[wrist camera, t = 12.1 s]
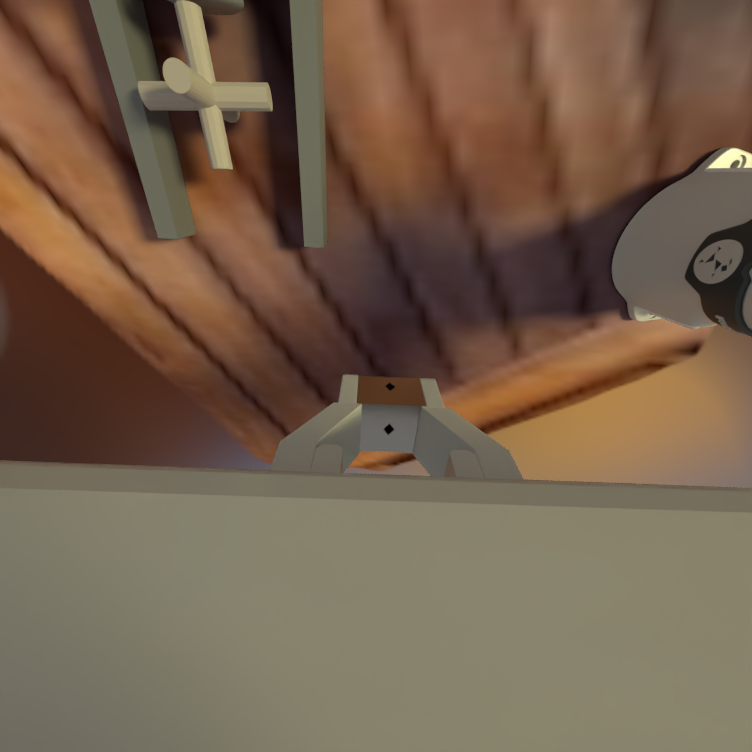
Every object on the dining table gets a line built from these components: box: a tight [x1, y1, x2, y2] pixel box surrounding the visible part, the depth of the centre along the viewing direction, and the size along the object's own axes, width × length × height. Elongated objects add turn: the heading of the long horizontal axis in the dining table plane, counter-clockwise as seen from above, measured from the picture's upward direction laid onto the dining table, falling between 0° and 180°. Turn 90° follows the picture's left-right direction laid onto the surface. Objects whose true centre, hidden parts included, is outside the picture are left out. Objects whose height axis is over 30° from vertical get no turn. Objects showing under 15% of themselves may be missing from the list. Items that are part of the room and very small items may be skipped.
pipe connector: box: [138, 0, 273, 170], centre depth 25 cm, size 10×10×10 cm
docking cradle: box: [89, 0, 328, 248], centre depth 25 cm, size 17×24×10 cm
